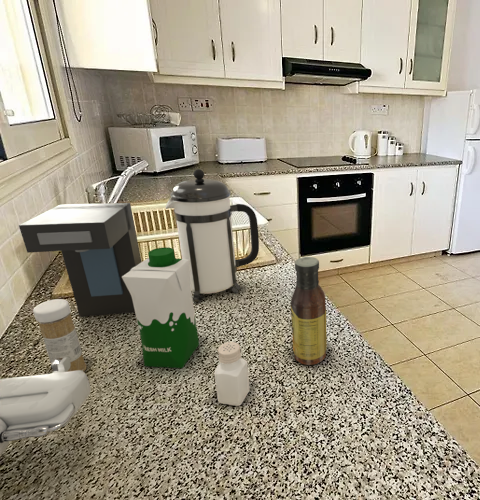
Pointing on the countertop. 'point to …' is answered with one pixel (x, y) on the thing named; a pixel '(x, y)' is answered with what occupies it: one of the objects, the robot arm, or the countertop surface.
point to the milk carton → (164, 308)
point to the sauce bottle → (308, 314)
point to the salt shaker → (231, 375)
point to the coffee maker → (90, 251)
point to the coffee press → (209, 234)
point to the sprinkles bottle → (59, 332)
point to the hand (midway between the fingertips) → (26, 365)
